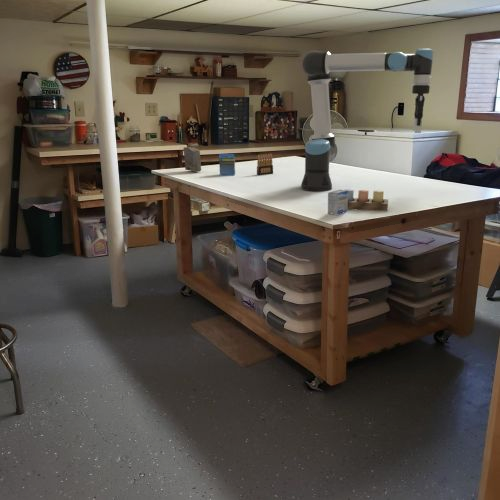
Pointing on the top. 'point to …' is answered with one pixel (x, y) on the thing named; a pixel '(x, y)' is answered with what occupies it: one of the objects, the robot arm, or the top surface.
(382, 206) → the button board
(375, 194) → the button ochre
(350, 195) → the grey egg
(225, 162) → the label tape box
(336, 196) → the medicine box
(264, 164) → the ammunition clip
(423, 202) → the top surface
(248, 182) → the top surface
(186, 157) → the geological specimen
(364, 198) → the button terracotta
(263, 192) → the top surface
